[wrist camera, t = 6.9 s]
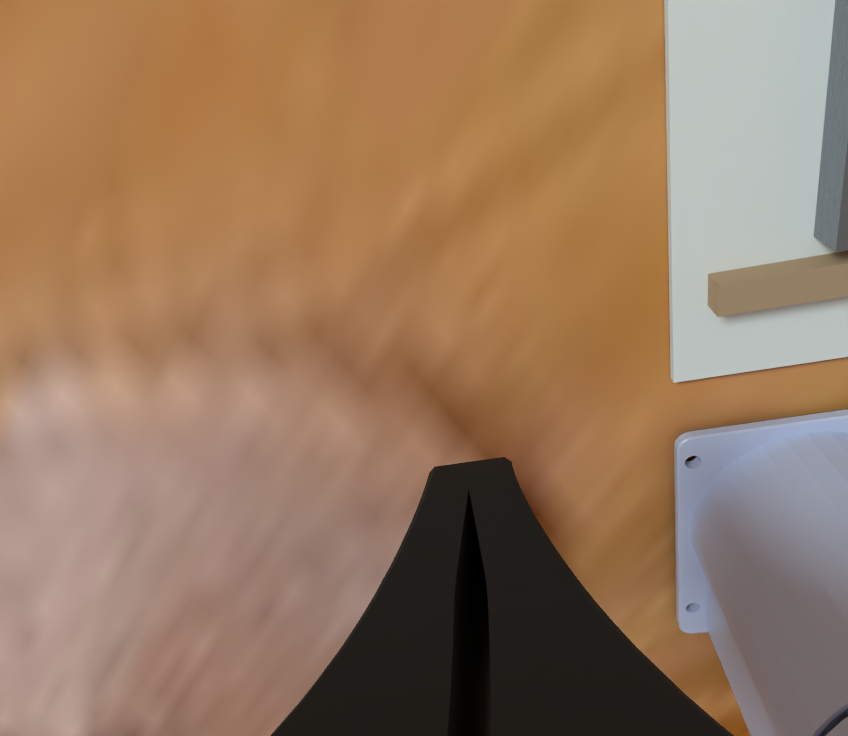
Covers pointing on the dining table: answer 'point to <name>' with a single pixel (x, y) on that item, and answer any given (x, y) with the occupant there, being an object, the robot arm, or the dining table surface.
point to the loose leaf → (835, 142)
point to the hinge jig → (749, 187)
